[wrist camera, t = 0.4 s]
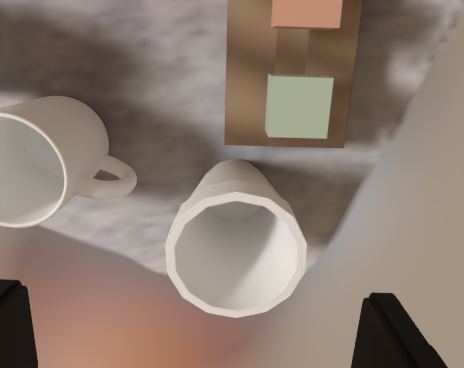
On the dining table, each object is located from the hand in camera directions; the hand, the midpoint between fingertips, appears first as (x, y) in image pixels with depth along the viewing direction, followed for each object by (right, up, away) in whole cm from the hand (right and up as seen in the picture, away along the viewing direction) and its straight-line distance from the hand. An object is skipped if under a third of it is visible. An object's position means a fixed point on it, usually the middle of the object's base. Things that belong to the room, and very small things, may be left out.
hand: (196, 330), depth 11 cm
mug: (-13, +8, +26) cm, 30 cm away
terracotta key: (+6, +18, +18) cm, 26 cm away
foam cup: (+1, +4, +27) cm, 27 cm away
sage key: (+6, +11, +20) cm, 24 cm away
